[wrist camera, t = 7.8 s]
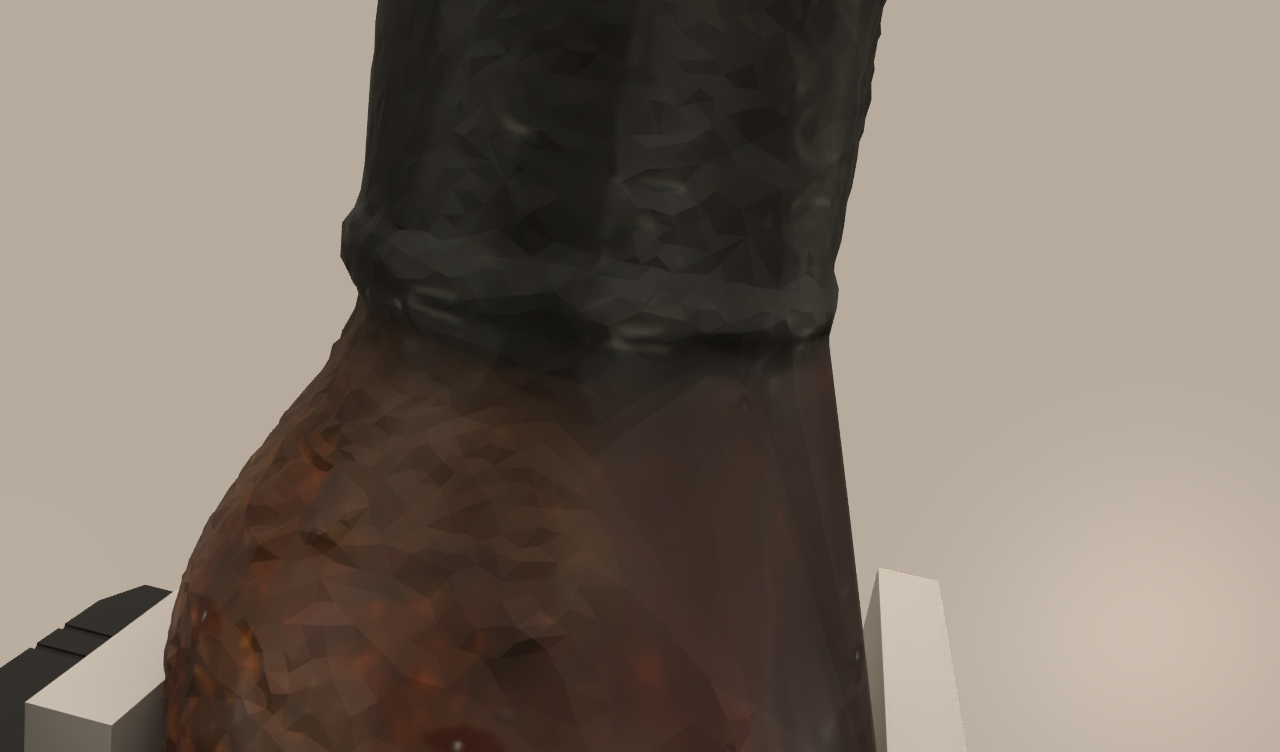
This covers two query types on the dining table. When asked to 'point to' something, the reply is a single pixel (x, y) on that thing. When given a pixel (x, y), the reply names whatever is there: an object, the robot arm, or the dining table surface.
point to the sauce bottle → (562, 406)
